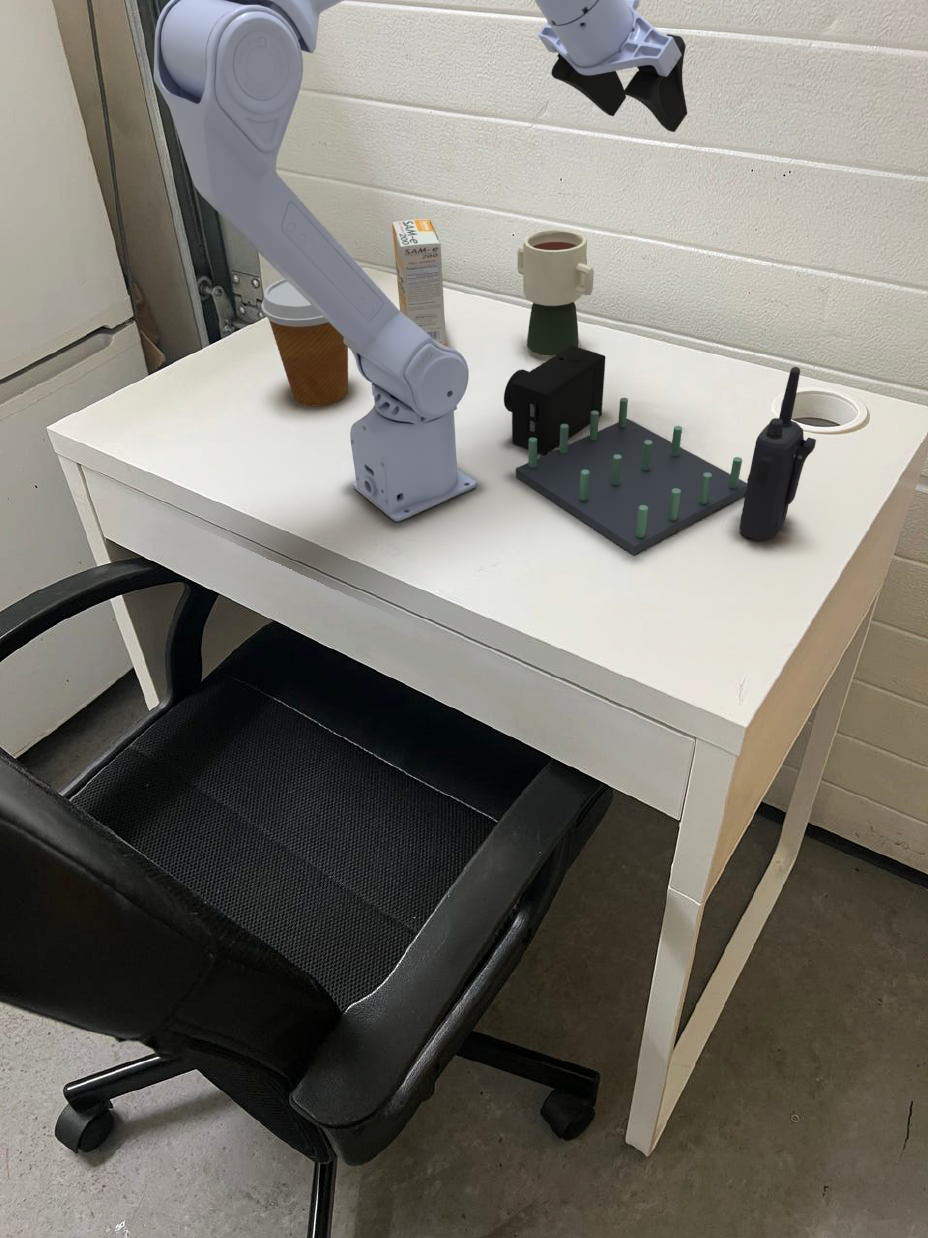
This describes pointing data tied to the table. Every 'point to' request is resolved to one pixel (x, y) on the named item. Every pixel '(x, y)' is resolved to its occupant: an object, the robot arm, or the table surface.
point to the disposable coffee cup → (306, 346)
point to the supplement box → (420, 275)
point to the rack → (631, 481)
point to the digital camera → (555, 397)
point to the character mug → (554, 287)
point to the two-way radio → (775, 469)
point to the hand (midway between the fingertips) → (647, 113)
